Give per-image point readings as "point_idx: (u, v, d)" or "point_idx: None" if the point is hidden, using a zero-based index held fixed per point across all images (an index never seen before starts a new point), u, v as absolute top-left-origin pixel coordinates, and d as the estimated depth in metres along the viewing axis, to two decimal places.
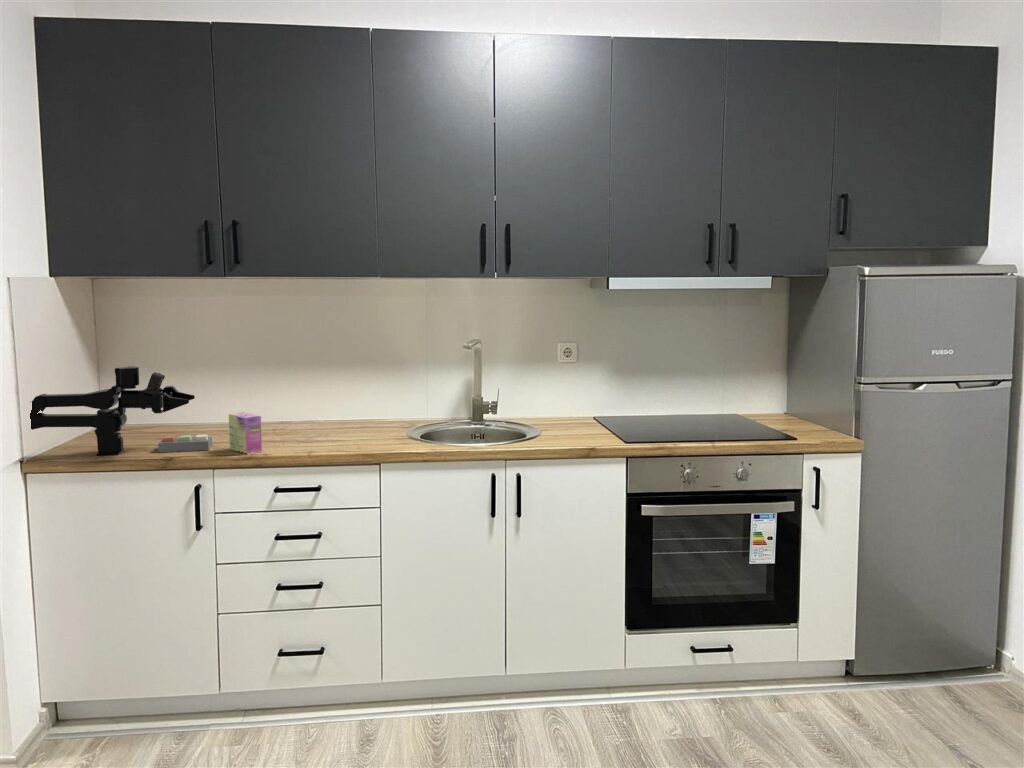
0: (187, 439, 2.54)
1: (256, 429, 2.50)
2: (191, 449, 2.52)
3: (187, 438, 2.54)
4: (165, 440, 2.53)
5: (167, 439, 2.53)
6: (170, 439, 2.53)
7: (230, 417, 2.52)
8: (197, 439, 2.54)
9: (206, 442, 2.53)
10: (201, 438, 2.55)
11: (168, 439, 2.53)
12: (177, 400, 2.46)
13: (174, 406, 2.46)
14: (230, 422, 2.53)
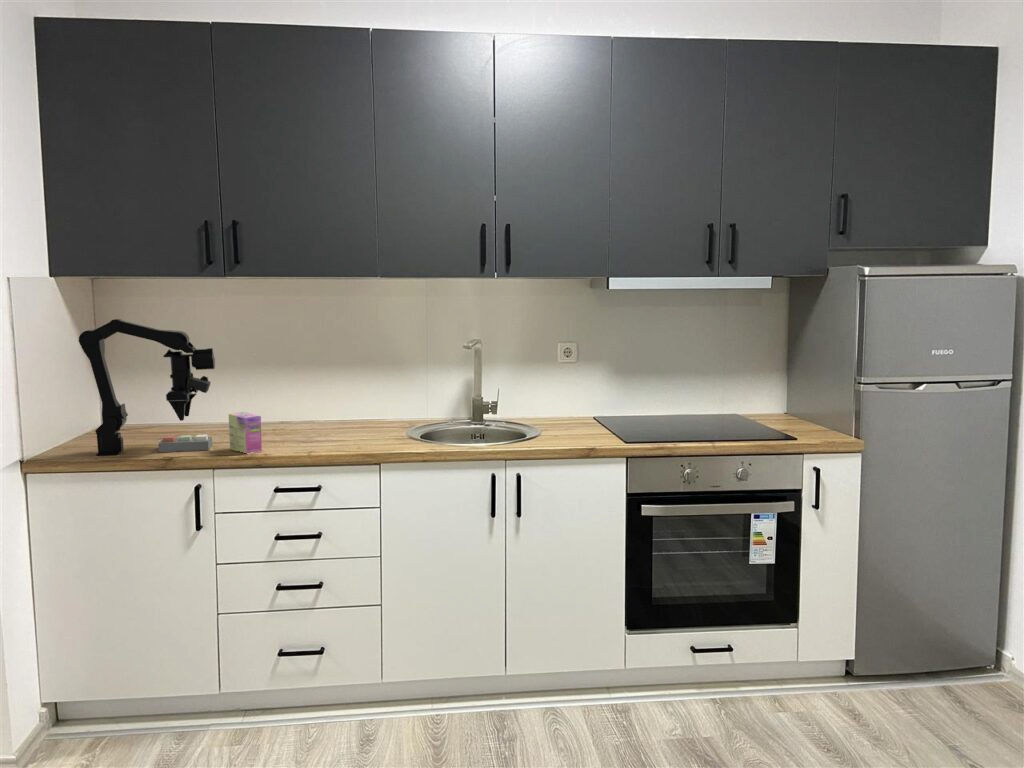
0: (187, 439, 2.54)
1: (256, 429, 2.50)
2: (191, 449, 2.52)
3: (187, 438, 2.54)
4: (165, 440, 2.53)
5: (167, 439, 2.53)
6: (170, 439, 2.53)
7: (230, 417, 2.52)
8: (197, 439, 2.54)
9: (206, 442, 2.53)
10: (201, 438, 2.55)
11: (168, 439, 2.53)
12: (182, 411, 2.49)
13: (175, 409, 2.48)
14: (230, 422, 2.53)
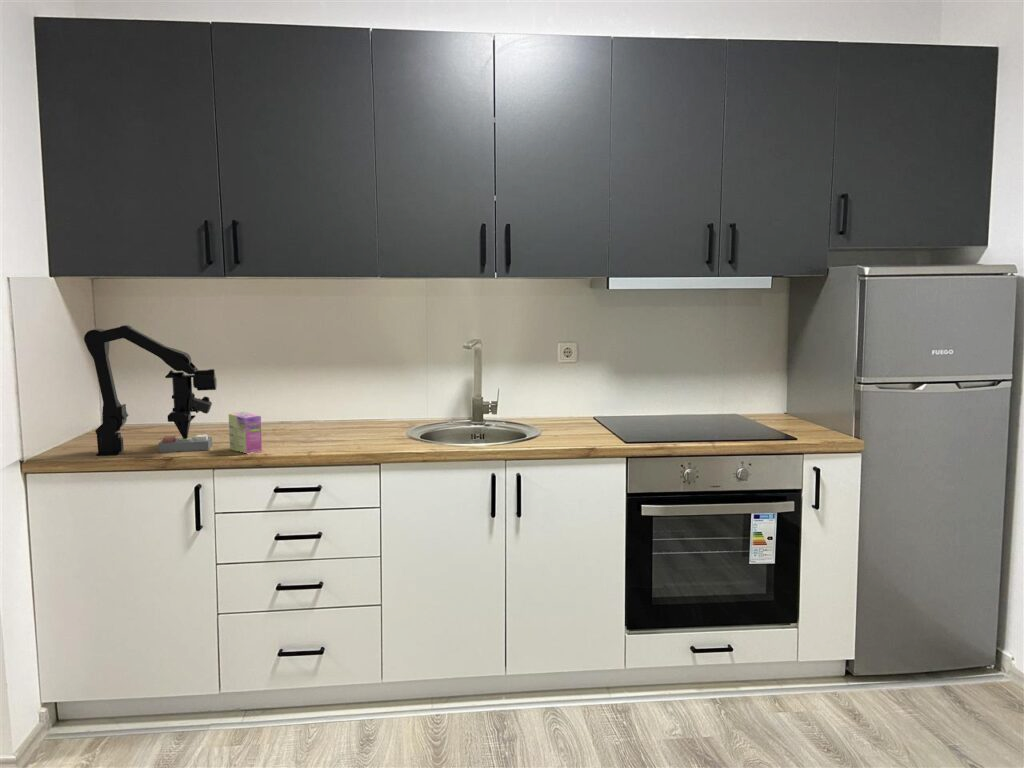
0: None
1: (256, 429, 2.50)
2: (191, 449, 2.52)
3: (187, 440, 2.54)
4: (165, 440, 2.53)
5: (167, 439, 2.53)
6: (170, 439, 2.53)
7: (230, 417, 2.52)
8: (197, 439, 2.54)
9: (206, 442, 2.53)
10: (201, 438, 2.55)
11: (168, 439, 2.53)
12: (185, 429, 2.54)
13: (179, 427, 2.53)
14: (230, 422, 2.53)
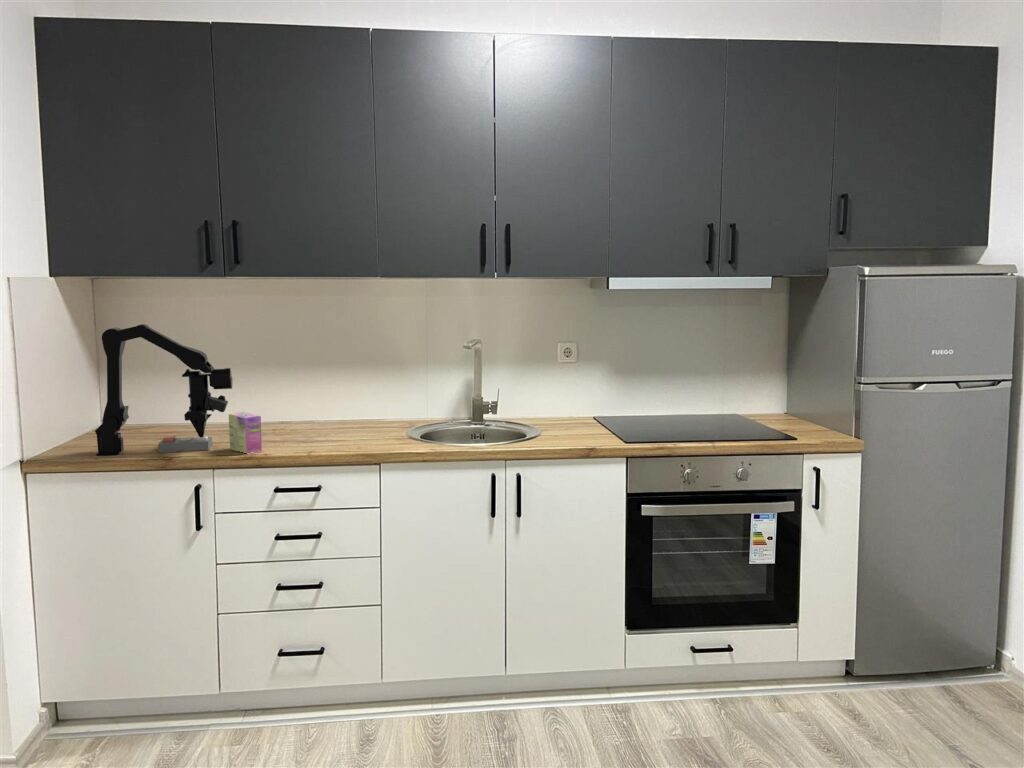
0: None
1: (256, 429, 2.50)
2: (191, 449, 2.52)
3: None
4: (165, 440, 2.53)
5: (167, 439, 2.53)
6: (170, 439, 2.53)
7: (230, 417, 2.52)
8: None
9: (206, 442, 2.53)
10: None
11: (168, 439, 2.53)
12: (201, 428, 2.55)
13: (195, 426, 2.54)
14: (230, 422, 2.53)
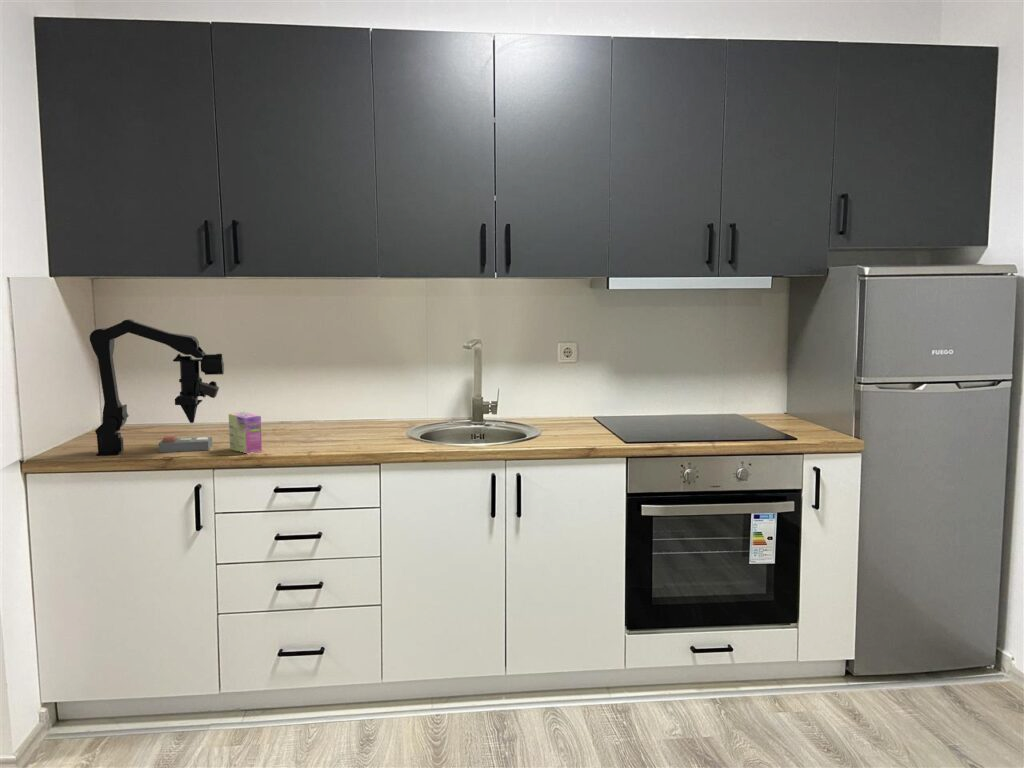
0: None
1: (256, 429, 2.50)
2: (191, 449, 2.52)
3: None
4: (165, 440, 2.53)
5: (167, 439, 2.53)
6: (170, 439, 2.53)
7: (230, 417, 2.52)
8: None
9: (206, 442, 2.53)
10: None
11: (168, 439, 2.53)
12: (192, 413, 2.53)
13: (185, 411, 2.53)
14: (230, 422, 2.53)
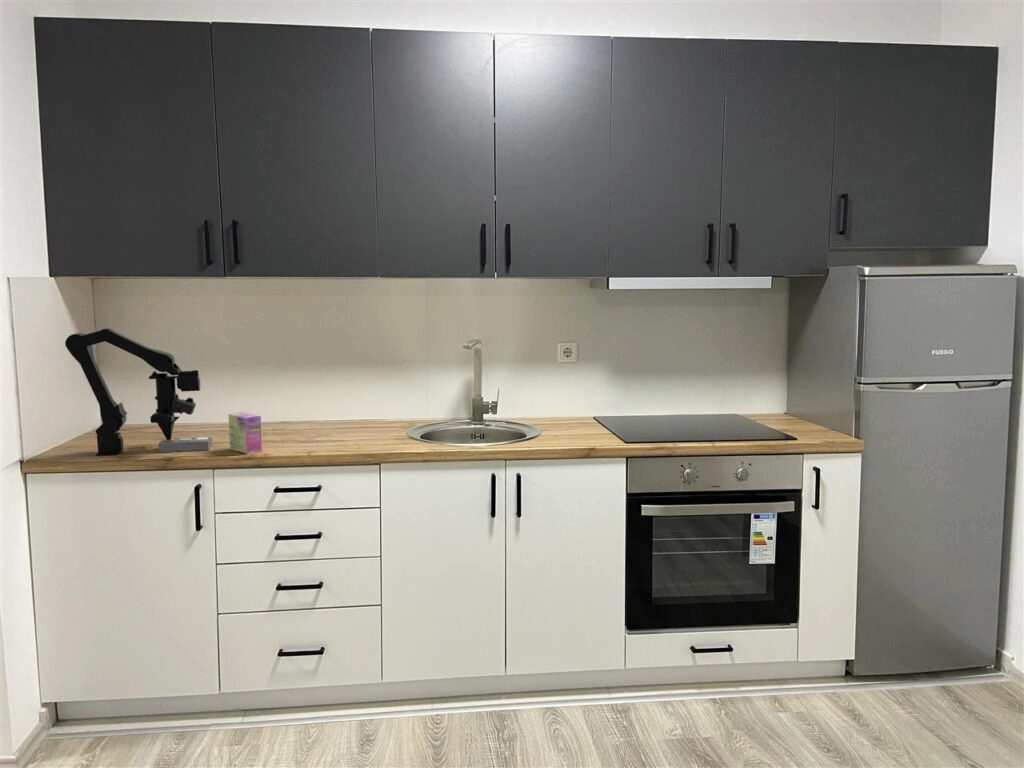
0: None
1: (256, 429, 2.50)
2: (191, 449, 2.52)
3: None
4: None
5: None
6: None
7: (230, 417, 2.52)
8: None
9: (206, 442, 2.53)
10: None
11: None
12: (169, 431, 2.53)
13: (162, 428, 2.52)
14: (230, 422, 2.53)
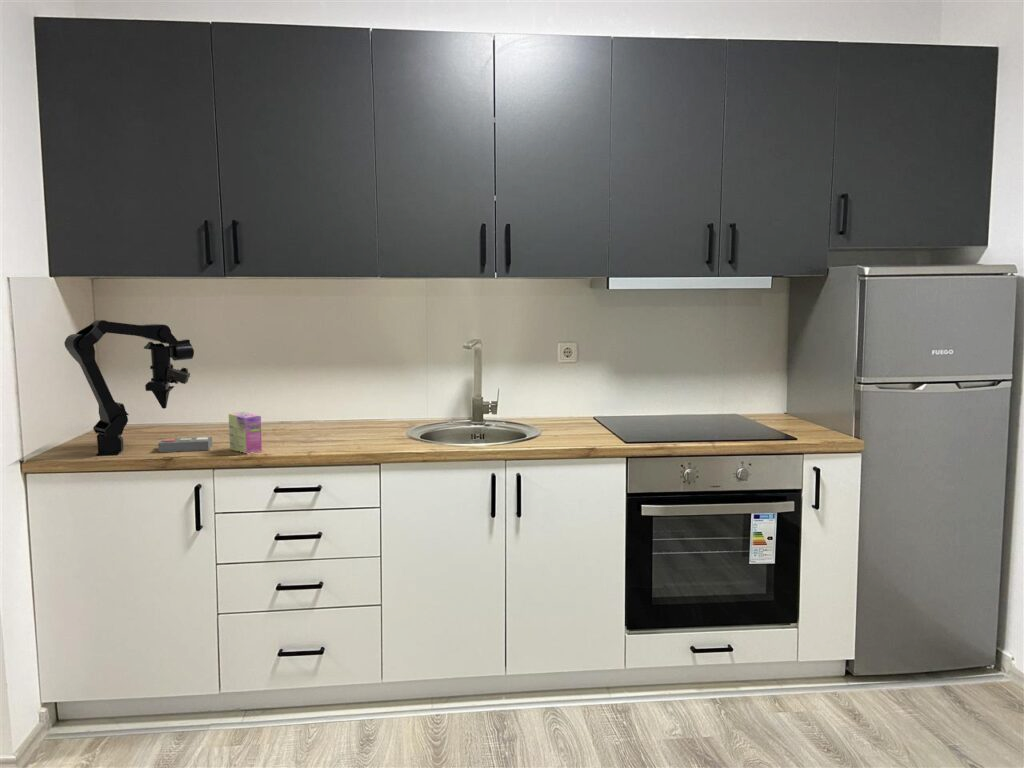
0: None
1: (256, 429, 2.50)
2: (191, 449, 2.52)
3: None
4: None
5: None
6: None
7: (230, 417, 2.52)
8: None
9: (206, 442, 2.53)
10: None
11: None
12: (164, 399, 2.61)
13: (157, 397, 2.60)
14: (230, 422, 2.53)
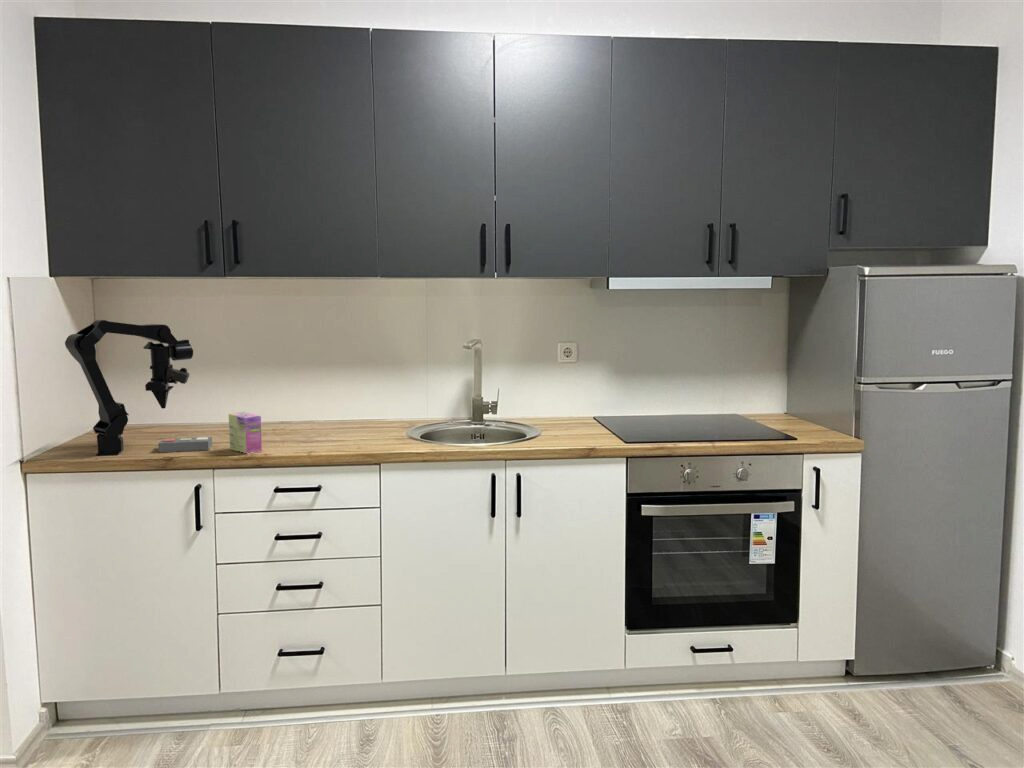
0: None
1: (256, 429, 2.50)
2: (191, 449, 2.52)
3: None
4: None
5: None
6: None
7: (230, 417, 2.52)
8: None
9: (206, 442, 2.53)
10: None
11: None
12: (163, 399, 2.61)
13: (157, 397, 2.60)
14: (230, 422, 2.53)
